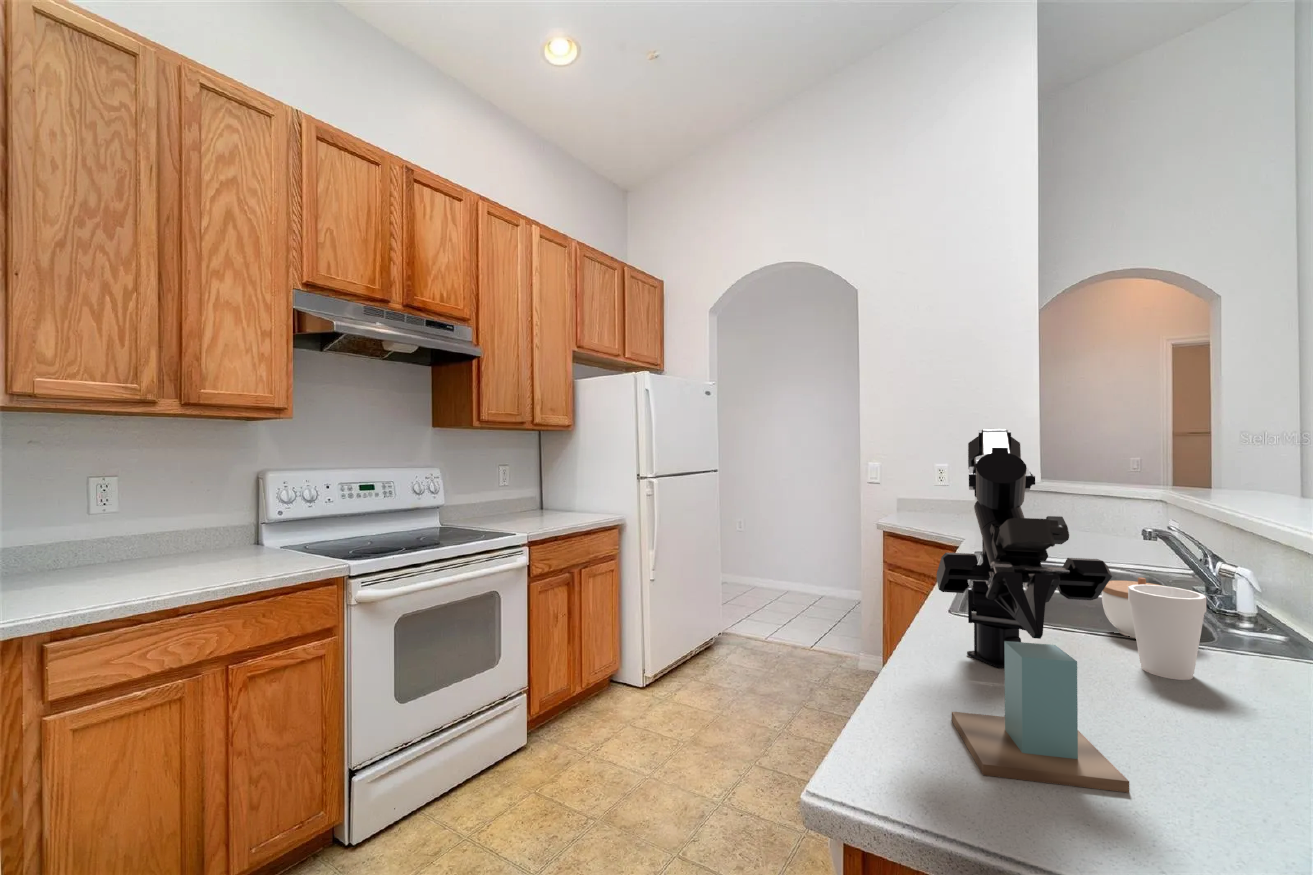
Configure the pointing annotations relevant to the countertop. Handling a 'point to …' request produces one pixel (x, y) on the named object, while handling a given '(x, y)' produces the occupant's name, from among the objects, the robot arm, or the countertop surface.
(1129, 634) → the lidded bowl
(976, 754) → the post board
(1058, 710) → the teal rectangular prism
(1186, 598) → the foam cup
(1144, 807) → the countertop surface
